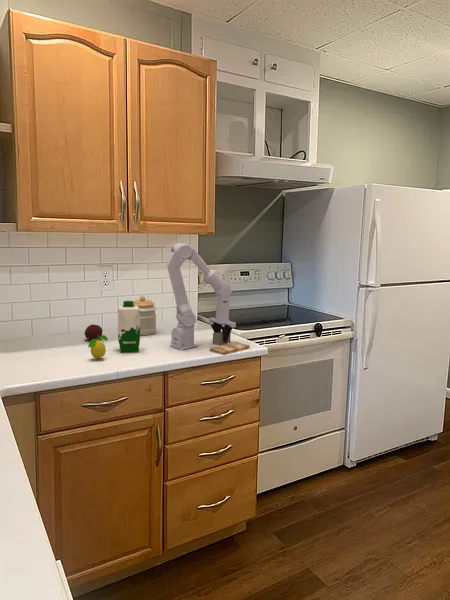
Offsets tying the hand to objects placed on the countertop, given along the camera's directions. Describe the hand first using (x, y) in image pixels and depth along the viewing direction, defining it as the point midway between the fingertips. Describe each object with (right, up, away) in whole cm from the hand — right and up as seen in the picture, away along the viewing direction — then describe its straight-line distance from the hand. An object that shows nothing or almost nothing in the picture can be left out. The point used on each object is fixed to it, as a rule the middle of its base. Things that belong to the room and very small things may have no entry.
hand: (221, 340), depth 207 cm
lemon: (-47, -5, -28) cm, 55 cm away
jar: (-38, +2, +17) cm, 41 cm away
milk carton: (-38, -3, -15) cm, 41 cm away
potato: (-57, 0, 0) cm, 57 cm away
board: (+4, -3, -9) cm, 10 cm away
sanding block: (0, -1, 0) cm, 1 cm away
